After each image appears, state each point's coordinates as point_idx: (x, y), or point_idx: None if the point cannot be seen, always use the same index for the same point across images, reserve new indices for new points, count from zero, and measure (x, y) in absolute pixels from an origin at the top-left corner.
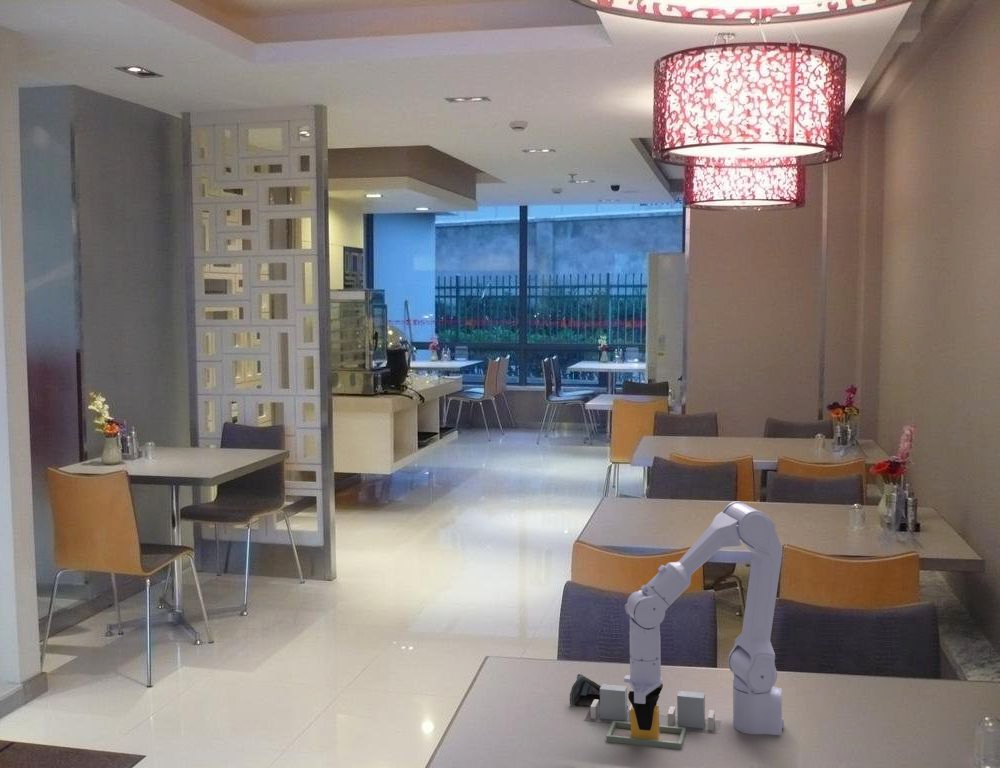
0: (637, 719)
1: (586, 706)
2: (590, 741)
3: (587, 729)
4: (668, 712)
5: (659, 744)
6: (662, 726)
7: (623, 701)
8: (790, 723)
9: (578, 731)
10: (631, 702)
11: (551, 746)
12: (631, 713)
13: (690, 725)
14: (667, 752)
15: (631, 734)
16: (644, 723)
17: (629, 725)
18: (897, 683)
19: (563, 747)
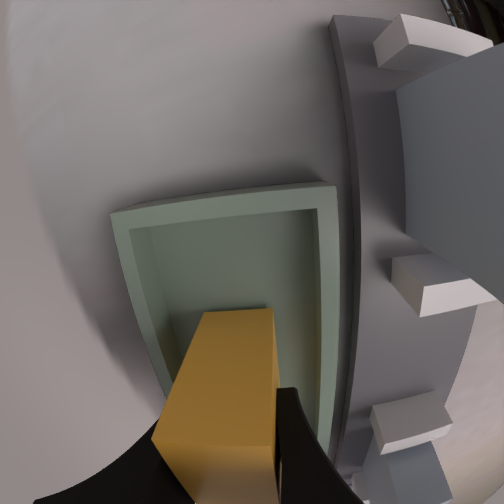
0: (153, 426)
1: (474, 25)
2: (157, 111)
3: (289, 49)
4: (396, 441)
5: None
6: (322, 420)
7: (470, 264)
8: None
9: (248, 20)
10: (54, 496)
11: (79, 11)
12: (163, 418)
13: (369, 452)
14: None
15: (198, 328)
16: None
17: (318, 289)
18: (489, 492)
19: (78, 47)
